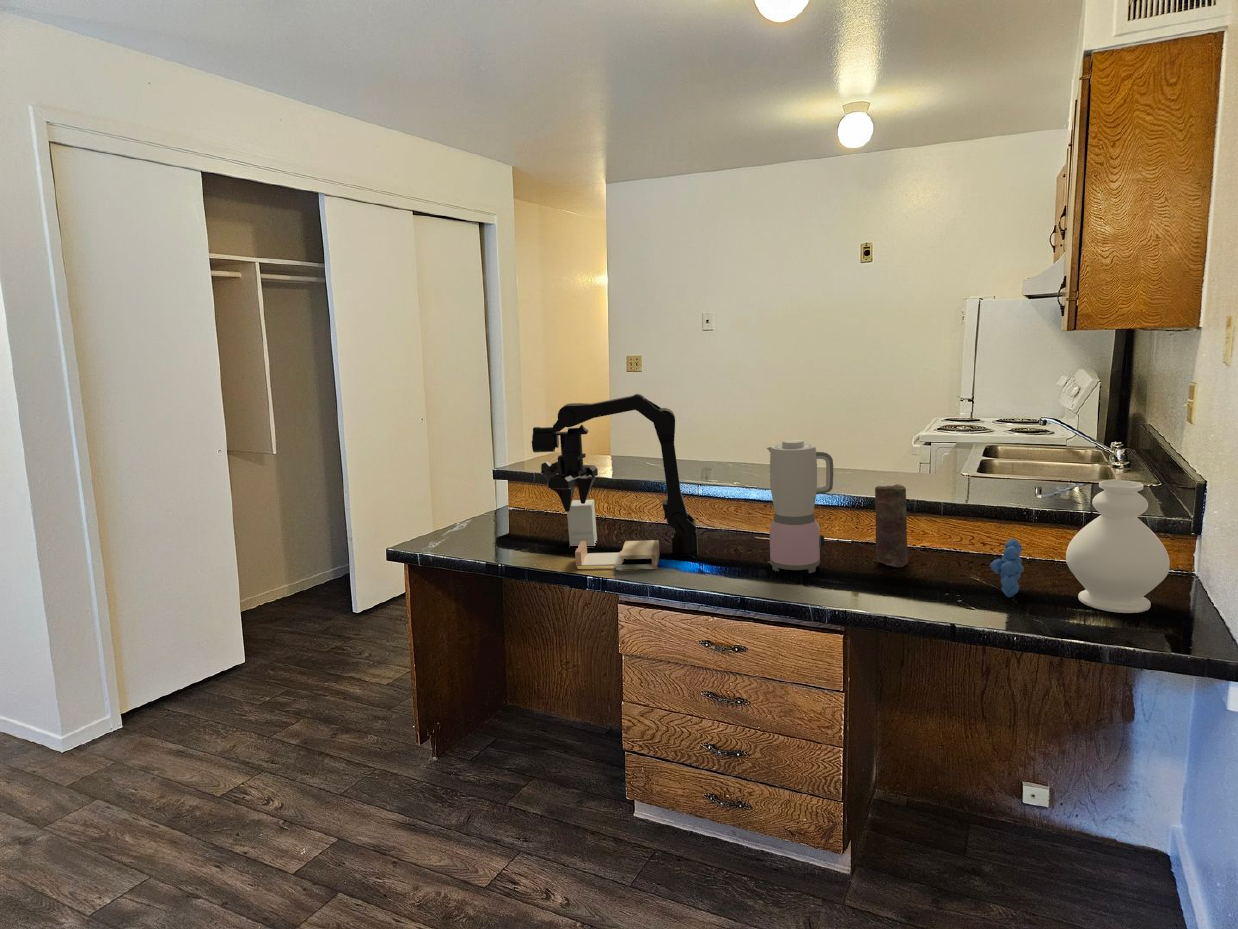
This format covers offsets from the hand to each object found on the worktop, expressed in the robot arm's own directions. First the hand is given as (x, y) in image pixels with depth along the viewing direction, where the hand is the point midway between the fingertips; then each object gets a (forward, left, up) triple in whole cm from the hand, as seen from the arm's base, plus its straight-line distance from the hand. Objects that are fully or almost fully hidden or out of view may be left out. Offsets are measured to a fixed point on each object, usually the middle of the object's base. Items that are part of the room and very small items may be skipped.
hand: (575, 507), depth 207 cm
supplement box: (0, -12, -14) cm, 19 cm away
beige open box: (-16, +6, -14) cm, 22 cm away
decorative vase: (-119, +40, -14) cm, 126 cm away
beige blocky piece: (-7, +6, -14) cm, 17 cm away
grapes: (-100, +34, -14) cm, 106 cm away
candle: (-81, +12, -14) cm, 83 cm away
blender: (-59, +13, -14) cm, 62 cm away
